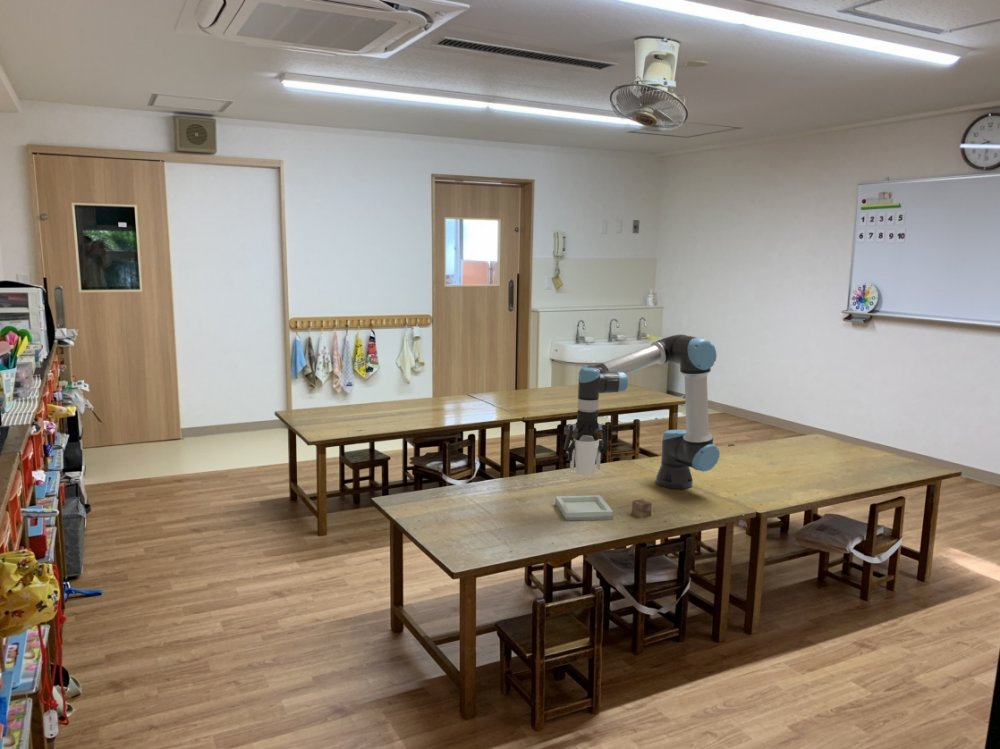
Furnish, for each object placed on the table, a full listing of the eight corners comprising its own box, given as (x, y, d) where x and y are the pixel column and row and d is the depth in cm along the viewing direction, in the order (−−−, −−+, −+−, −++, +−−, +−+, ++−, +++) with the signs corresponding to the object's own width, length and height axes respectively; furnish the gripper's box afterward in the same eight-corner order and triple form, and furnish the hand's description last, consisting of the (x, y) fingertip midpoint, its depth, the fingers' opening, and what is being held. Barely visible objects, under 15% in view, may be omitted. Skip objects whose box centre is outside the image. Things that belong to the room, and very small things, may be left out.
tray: (599, 502, 289) (599, 495, 288) (612, 519, 272) (613, 511, 271) (555, 503, 286) (555, 496, 286) (565, 520, 269) (566, 512, 269)
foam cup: (597, 469, 280) (598, 436, 278) (598, 477, 271) (599, 442, 269) (572, 468, 281) (573, 435, 279) (571, 475, 272) (573, 441, 270)
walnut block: (642, 511, 281) (642, 498, 280) (650, 515, 276) (651, 503, 275) (631, 513, 278) (632, 500, 277) (640, 518, 274) (641, 505, 273)
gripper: (613, 407, 277) (610, 465, 281) (556, 407, 274) (553, 466, 278) (619, 411, 270) (616, 471, 274) (560, 412, 267) (558, 472, 271)
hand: (584, 468), depth 276 cm, fingers closed on foam cup, 9 cm apart
